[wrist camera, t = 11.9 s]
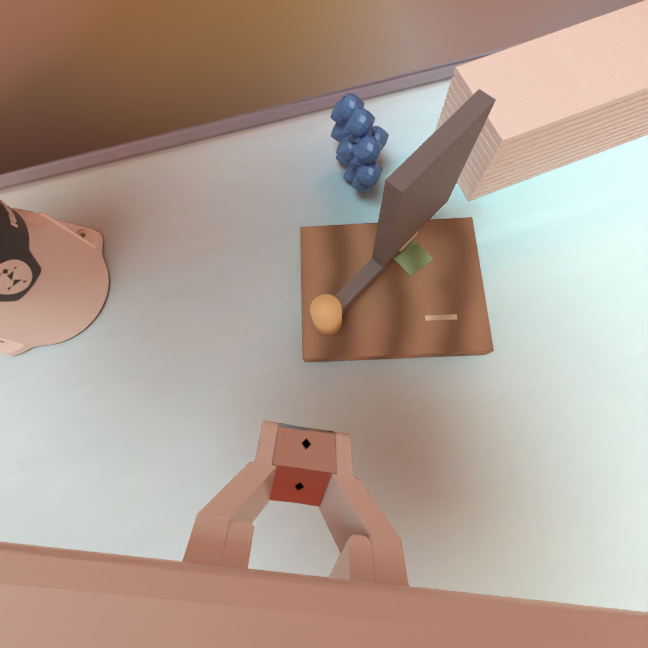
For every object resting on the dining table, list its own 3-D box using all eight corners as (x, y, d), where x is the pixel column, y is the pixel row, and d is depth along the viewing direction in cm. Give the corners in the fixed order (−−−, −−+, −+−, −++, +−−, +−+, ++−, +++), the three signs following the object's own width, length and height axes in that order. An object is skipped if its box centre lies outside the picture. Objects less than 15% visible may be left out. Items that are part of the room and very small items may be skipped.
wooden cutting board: (304, 362, 42) (302, 358, 39) (302, 237, 46) (300, 226, 44) (484, 354, 41) (494, 350, 38) (465, 228, 45) (472, 216, 43)
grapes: (400, 203, 47) (419, 132, 35) (352, 220, 46) (355, 154, 35) (368, 136, 50) (375, 50, 38) (323, 151, 49) (316, 69, 38)
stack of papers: (636, 66, 51) (712, -24, 40) (682, 122, 48) (777, 40, 37) (432, 140, 49) (455, 66, 39) (467, 202, 46) (502, 140, 36)
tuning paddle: (328, 341, 39) (318, 291, 24) (308, 323, 40) (285, 262, 25) (445, 220, 43) (504, 104, 27) (424, 204, 43) (470, 83, 28)
